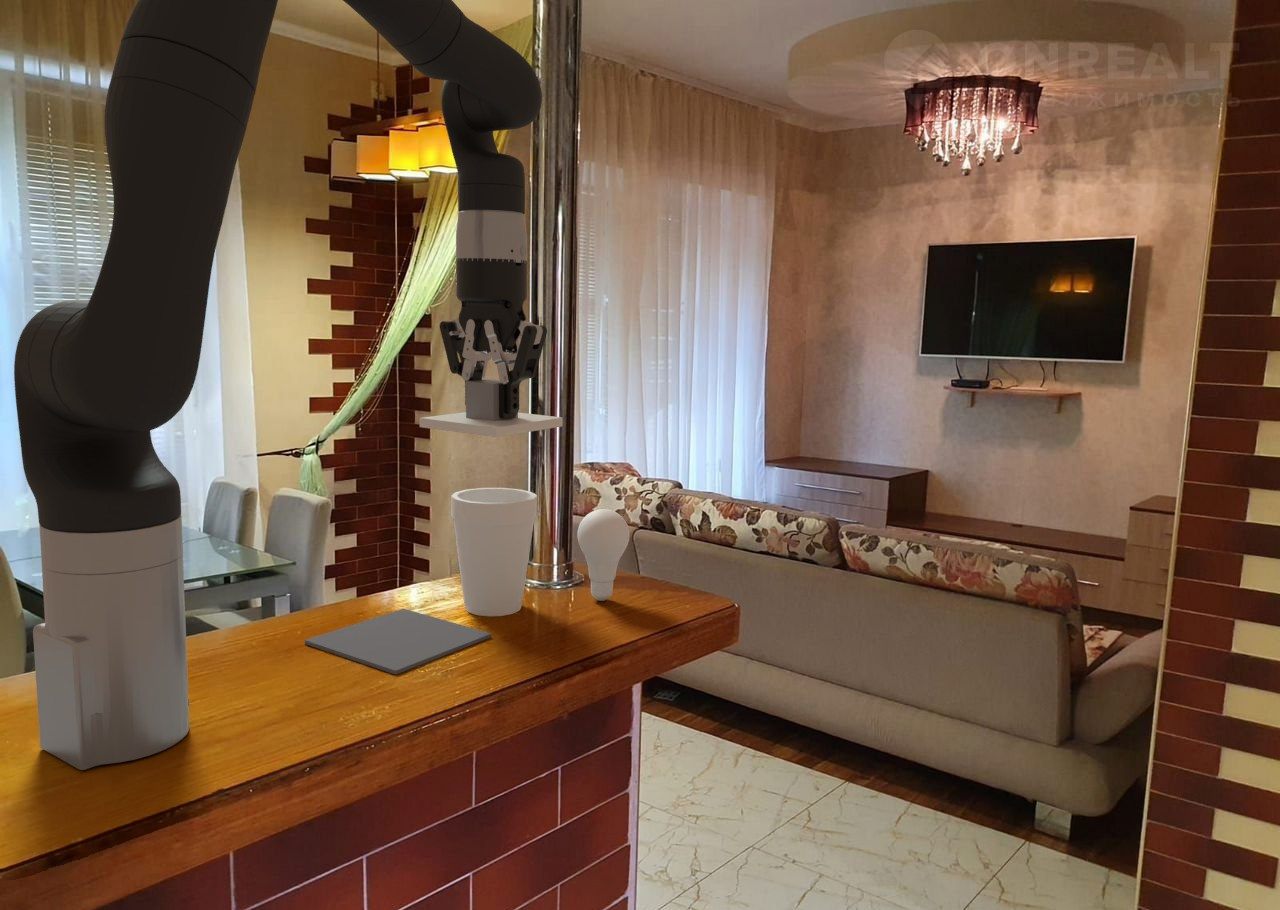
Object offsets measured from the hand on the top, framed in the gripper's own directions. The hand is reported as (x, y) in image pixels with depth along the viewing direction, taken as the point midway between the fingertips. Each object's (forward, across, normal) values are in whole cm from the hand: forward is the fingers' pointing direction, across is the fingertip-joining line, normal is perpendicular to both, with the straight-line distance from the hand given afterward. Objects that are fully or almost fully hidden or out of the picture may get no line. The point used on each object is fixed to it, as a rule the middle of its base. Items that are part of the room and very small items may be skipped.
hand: (492, 415), depth 103 cm
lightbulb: (+22, +8, +10) cm, 26 cm away
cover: (+1, 0, 0) cm, 1 cm away
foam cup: (+22, 0, 0) cm, 22 cm away
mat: (+22, 0, -14) cm, 26 cm away
